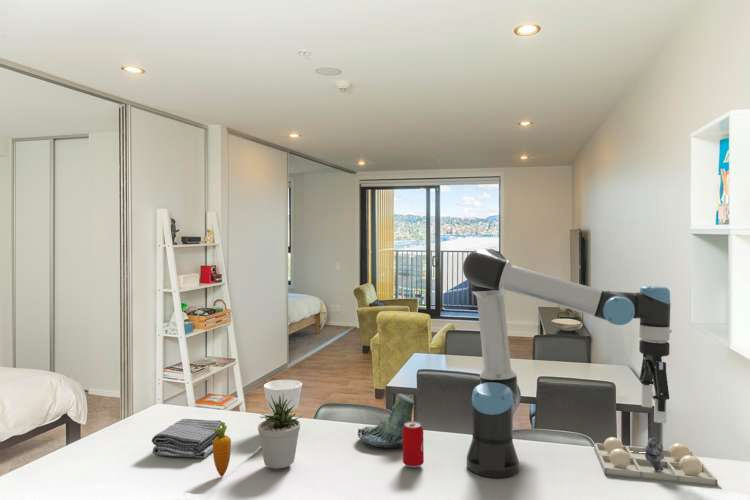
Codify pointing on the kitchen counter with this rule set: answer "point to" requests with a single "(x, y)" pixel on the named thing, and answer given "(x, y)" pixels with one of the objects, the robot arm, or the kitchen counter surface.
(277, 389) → the cup
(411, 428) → the beverage can
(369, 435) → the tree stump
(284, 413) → the potted plant
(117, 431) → the kitchen counter surface
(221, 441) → the carrot
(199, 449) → the towel
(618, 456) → the egg near left
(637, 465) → the egg tray
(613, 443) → the egg far left
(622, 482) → the kitchen counter surface
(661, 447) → the seashell
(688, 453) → the egg far right
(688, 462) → the egg near right
